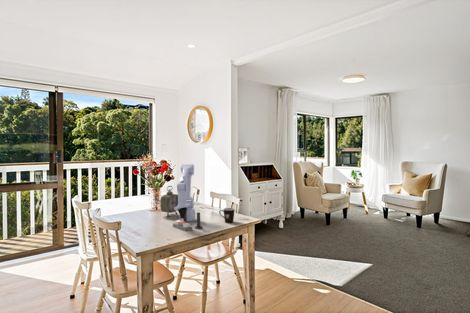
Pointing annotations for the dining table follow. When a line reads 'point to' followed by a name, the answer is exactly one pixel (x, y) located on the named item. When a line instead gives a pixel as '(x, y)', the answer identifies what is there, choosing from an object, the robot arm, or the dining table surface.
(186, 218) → the cord post left
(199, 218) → the cord post right
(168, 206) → the tabletop clock
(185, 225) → the breaker panel
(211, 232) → the dining table surface
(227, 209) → the coffee mug
